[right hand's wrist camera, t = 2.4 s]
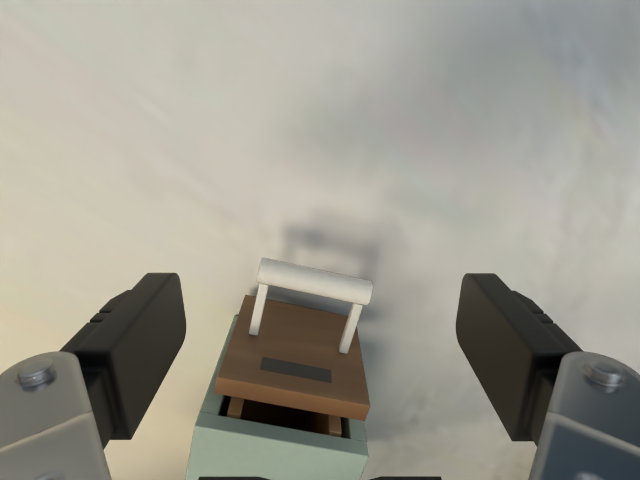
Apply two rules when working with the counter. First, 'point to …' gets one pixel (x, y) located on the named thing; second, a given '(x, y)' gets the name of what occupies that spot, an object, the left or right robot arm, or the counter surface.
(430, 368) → the counter surface
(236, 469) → the sage green cube
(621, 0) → the counter surface
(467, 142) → the counter surface
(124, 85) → the counter surface
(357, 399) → the drawer
